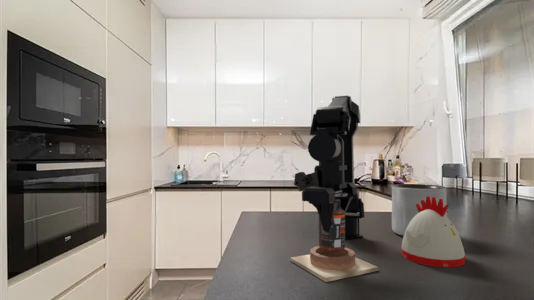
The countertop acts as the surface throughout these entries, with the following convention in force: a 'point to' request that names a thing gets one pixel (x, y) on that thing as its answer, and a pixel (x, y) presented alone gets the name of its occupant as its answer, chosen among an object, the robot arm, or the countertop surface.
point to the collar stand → (333, 264)
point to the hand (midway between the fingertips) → (331, 228)
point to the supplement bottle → (333, 232)
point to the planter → (412, 202)
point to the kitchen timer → (432, 237)
